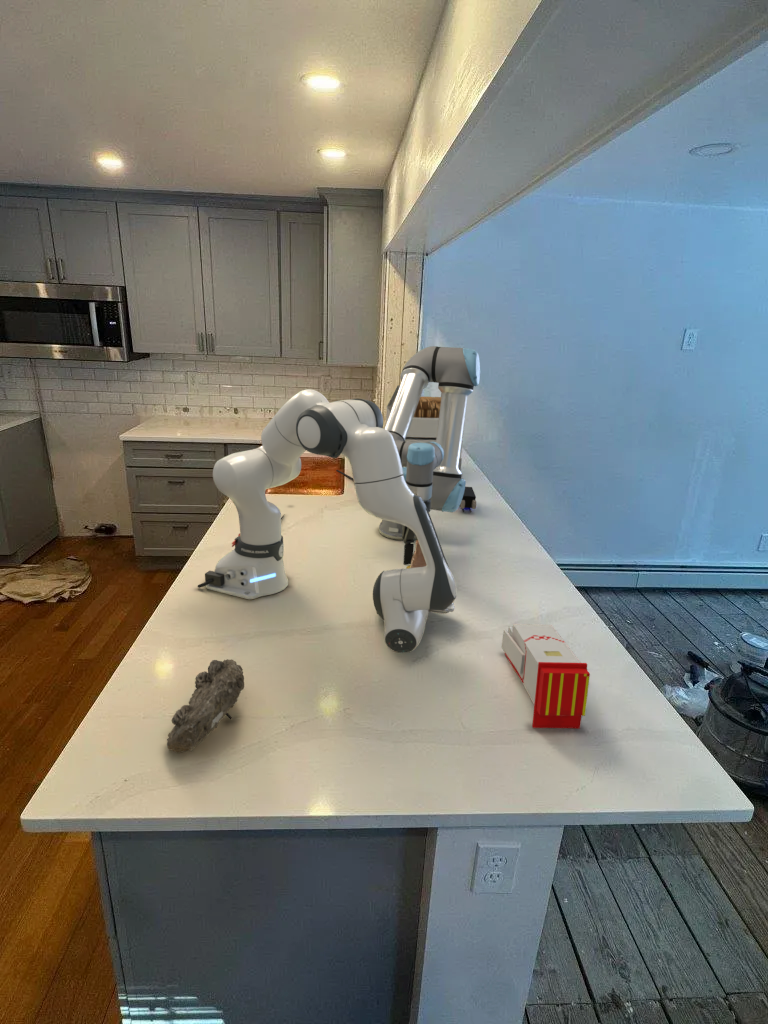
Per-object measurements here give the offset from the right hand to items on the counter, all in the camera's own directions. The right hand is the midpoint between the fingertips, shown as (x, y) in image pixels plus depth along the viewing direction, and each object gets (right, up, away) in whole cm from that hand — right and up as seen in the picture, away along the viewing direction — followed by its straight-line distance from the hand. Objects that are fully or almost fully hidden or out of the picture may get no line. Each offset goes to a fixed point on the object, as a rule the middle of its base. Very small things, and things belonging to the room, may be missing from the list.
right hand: (413, 570), depth 169 cm
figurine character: (+24, +19, +59) cm, 67 cm away
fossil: (-41, -22, -61) cm, 77 cm away
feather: (-46, +15, +40) cm, 63 cm away
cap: (0, 0, 0) cm, 0 cm away
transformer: (+9, +36, +106) cm, 112 cm away
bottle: (0, -8, -17) cm, 18 cm away
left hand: (+1, -2, -18) cm, 18 cm away
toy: (+24, -20, -47) cm, 57 cm away
